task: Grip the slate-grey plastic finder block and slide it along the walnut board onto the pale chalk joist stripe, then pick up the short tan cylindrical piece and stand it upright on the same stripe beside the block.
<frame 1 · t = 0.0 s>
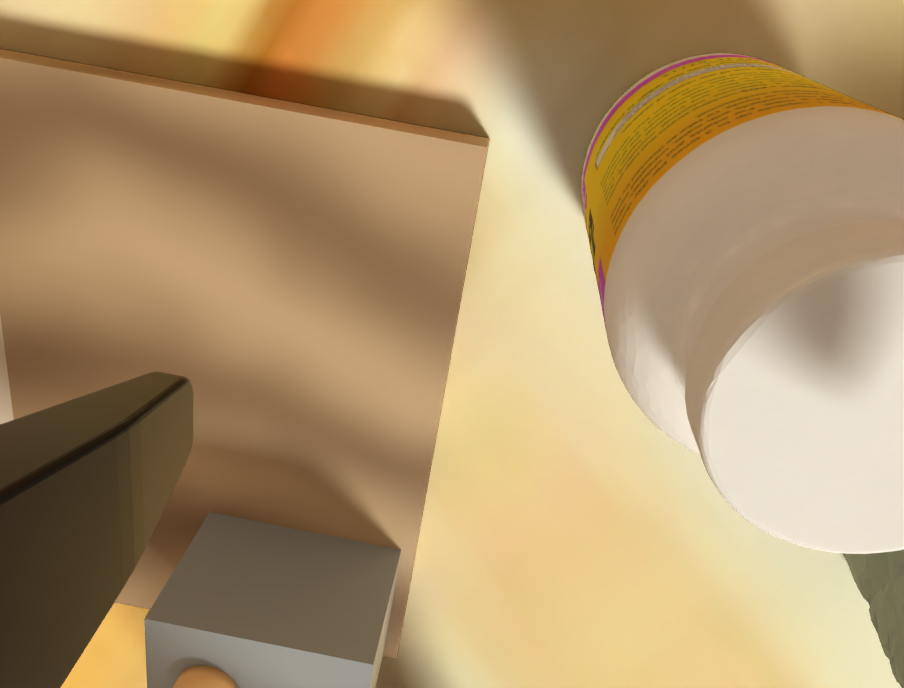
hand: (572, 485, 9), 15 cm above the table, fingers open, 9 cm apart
supplement bottle: (697, 174, 21), on the table
board: (126, 369, 26), on the table
finder block: (300, 582, 28), point 1 cm above the table, touching board
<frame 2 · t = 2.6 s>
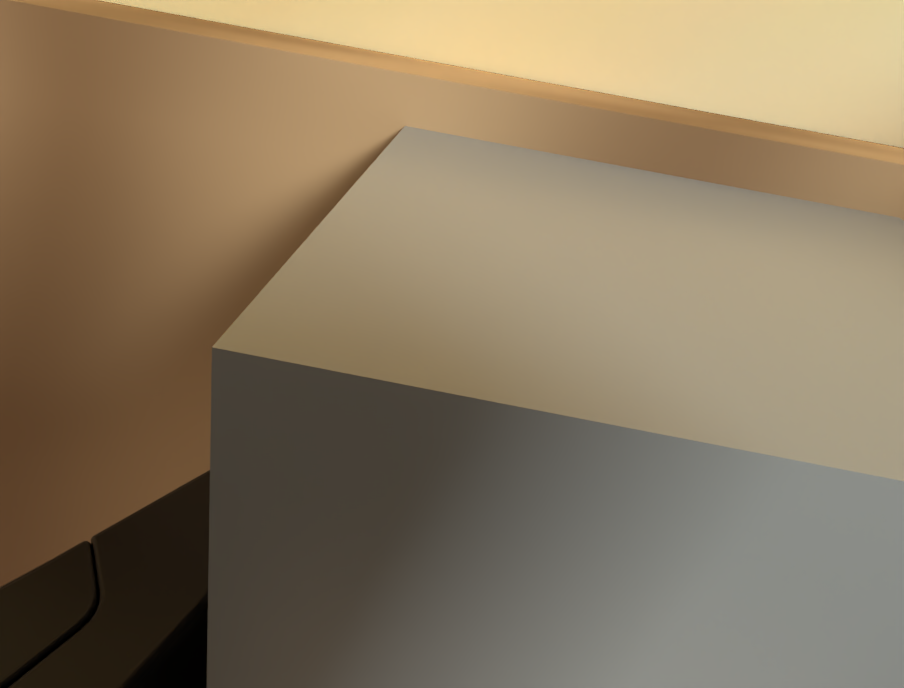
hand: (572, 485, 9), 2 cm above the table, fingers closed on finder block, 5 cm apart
board: (93, 658, 14), on the table
finder block: (570, 455, 9), point 1 cm above the table, touching board, gripper
when the fingers open (2 cm above the table, at t = 5.7 s): finder block stays where it is, resting on board.
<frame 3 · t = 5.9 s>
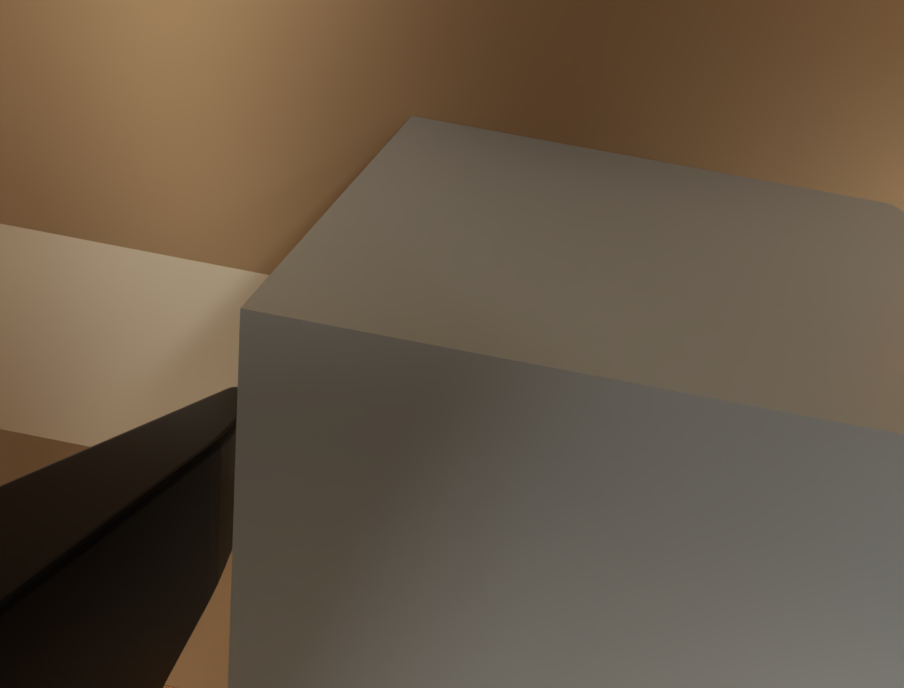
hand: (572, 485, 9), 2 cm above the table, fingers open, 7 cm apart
finder block: (572, 439, 9), point 1 cm above the table, touching board
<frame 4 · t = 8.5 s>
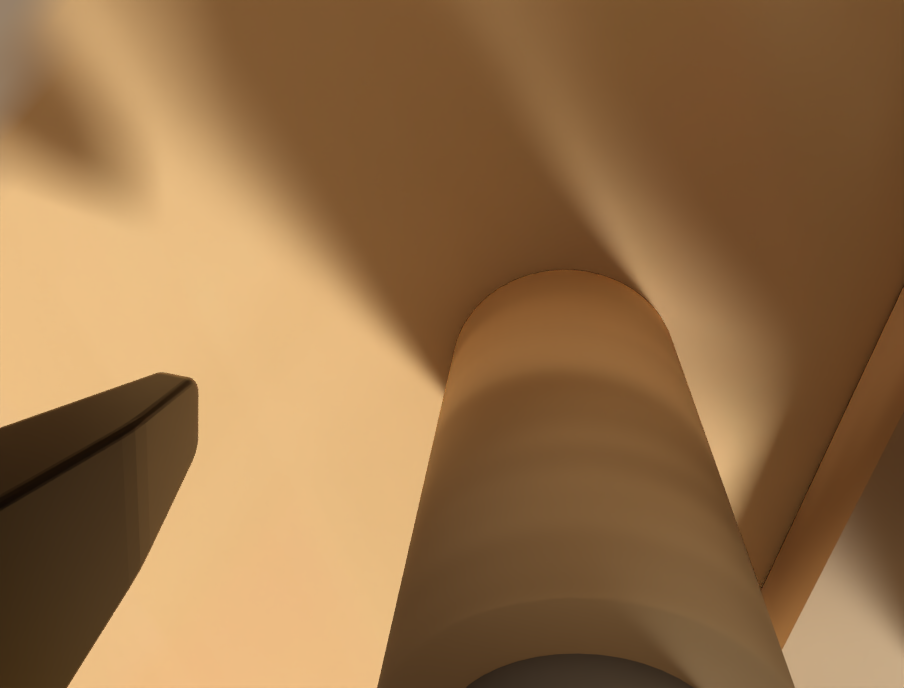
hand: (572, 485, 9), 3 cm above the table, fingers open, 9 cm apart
tan cylindrical piece: (562, 373, 11), on the table
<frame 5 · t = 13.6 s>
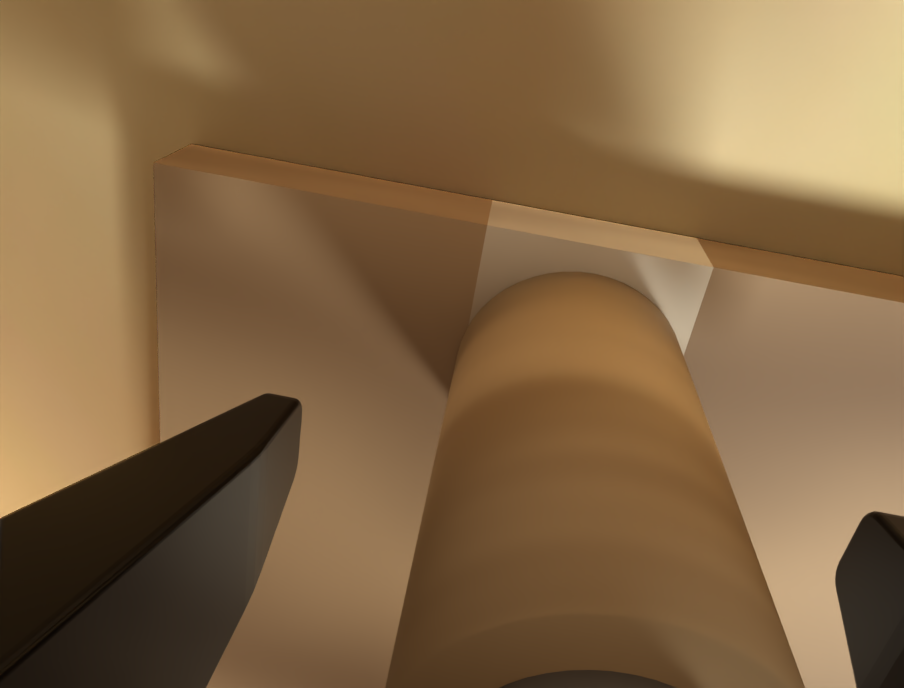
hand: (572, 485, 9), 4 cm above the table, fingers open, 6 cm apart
tan cylindrical piece: (567, 376, 11), point 1 cm above the table, touching board
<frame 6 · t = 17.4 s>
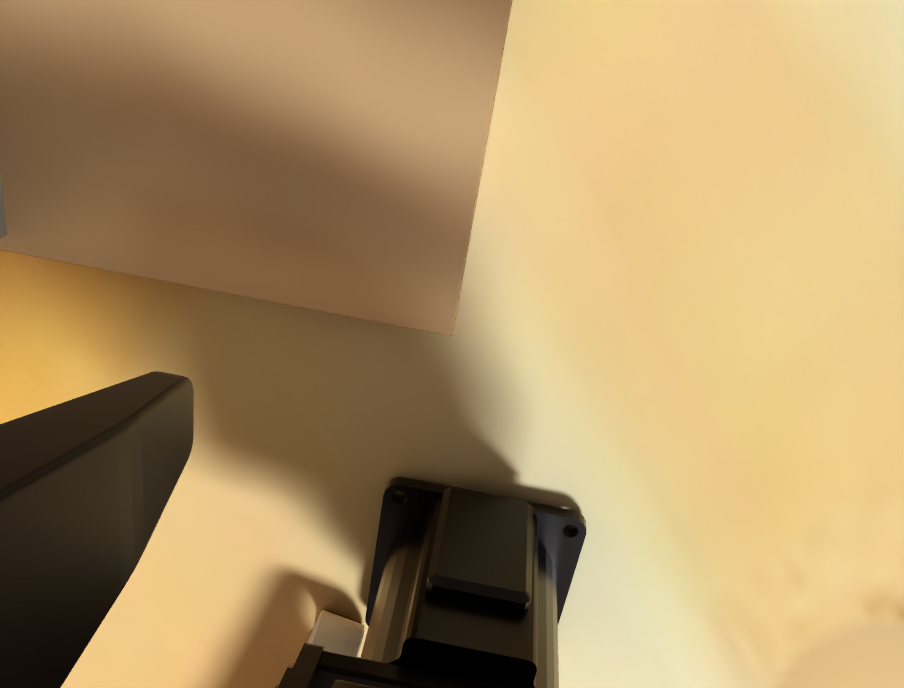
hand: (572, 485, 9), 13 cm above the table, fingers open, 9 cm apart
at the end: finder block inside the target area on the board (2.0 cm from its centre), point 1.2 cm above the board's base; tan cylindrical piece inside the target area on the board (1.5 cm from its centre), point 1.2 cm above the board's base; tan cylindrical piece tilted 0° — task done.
